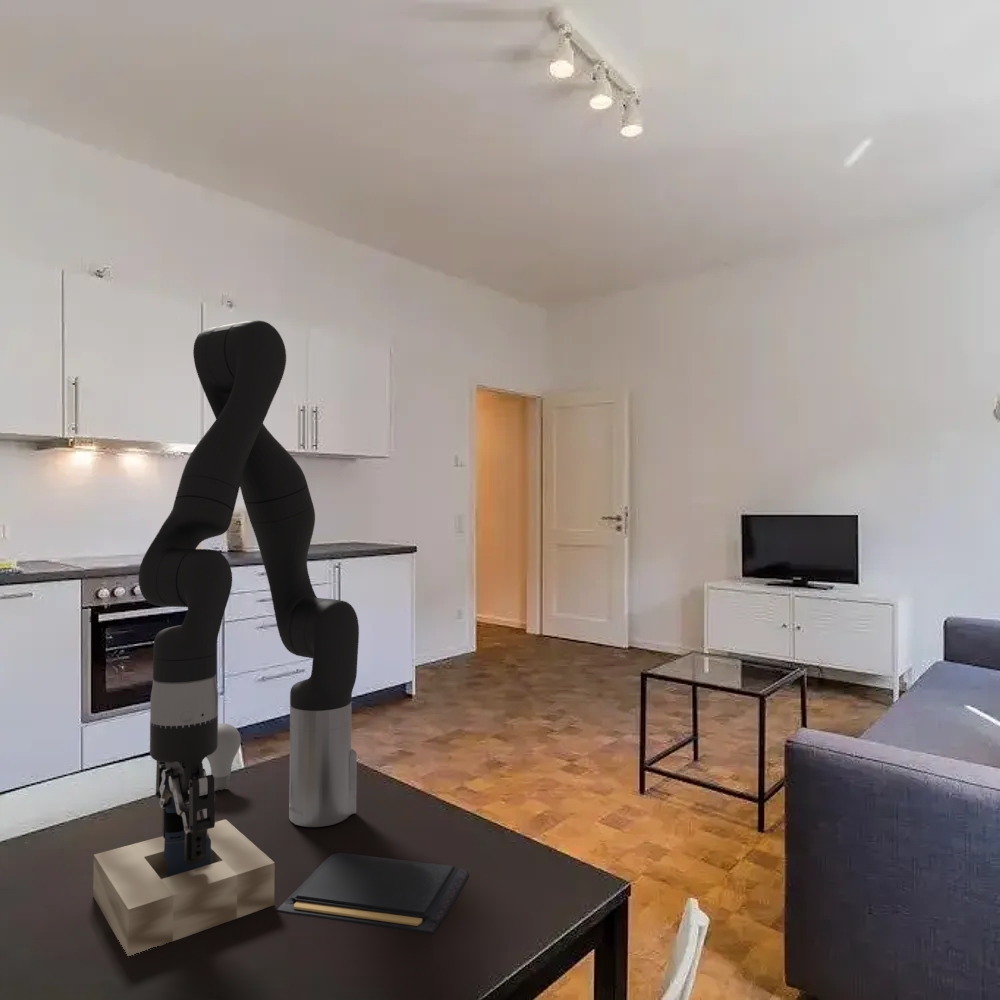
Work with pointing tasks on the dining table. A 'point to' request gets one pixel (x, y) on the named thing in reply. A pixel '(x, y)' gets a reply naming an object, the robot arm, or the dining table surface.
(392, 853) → the dining table surface
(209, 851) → the vaping device
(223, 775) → the lightbulb
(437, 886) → the black book
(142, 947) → the holder block
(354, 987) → the dining table surface
